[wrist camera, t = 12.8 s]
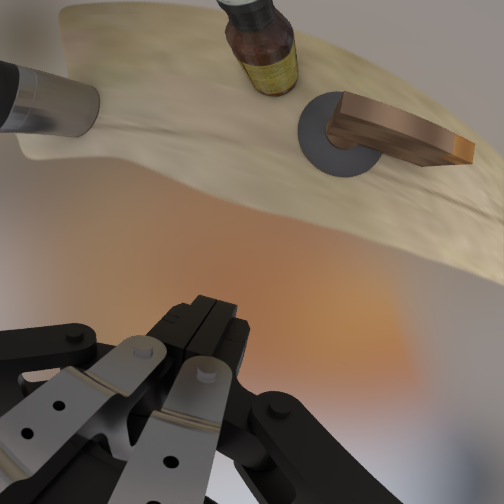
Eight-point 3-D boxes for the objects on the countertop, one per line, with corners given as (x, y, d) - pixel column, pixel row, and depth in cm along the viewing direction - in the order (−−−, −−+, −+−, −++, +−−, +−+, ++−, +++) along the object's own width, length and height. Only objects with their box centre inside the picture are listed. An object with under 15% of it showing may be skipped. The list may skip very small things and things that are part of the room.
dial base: (290, 164, 35) (289, 164, 33) (306, 85, 32) (307, 82, 30) (373, 186, 34) (376, 187, 32) (387, 108, 31) (391, 105, 29)
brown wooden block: (322, 144, 32) (334, 125, 20) (329, 110, 30) (344, 77, 19) (420, 175, 30) (470, 176, 19) (426, 143, 29) (476, 131, 18)
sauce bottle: (308, 77, 31) (313, -12, 12) (273, 107, 33) (246, 35, 14) (272, 48, 31) (247, -47, 12) (238, 76, 33) (184, -4, 14)
